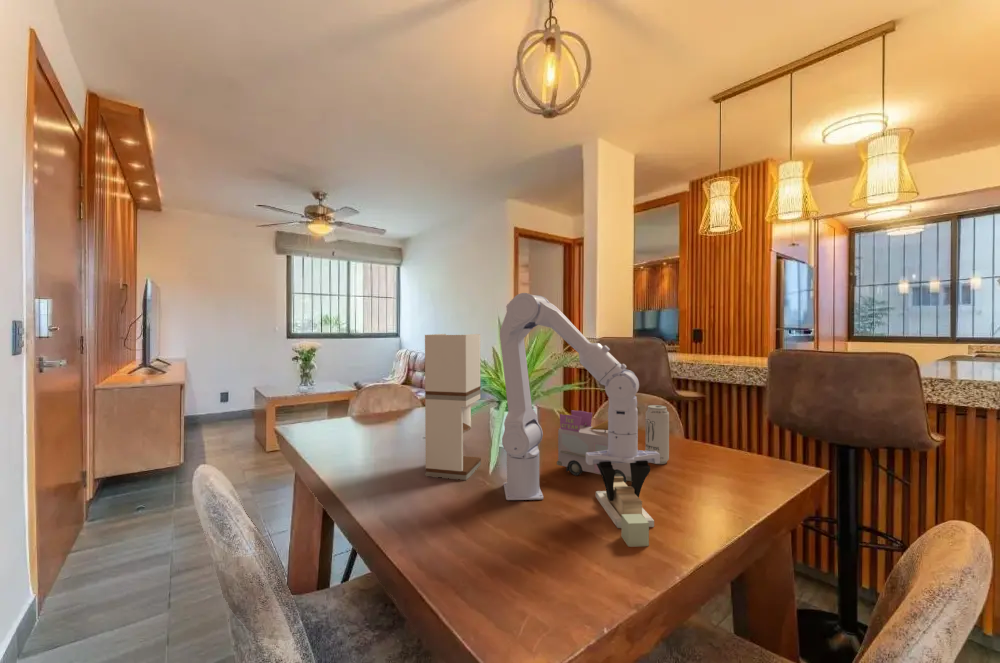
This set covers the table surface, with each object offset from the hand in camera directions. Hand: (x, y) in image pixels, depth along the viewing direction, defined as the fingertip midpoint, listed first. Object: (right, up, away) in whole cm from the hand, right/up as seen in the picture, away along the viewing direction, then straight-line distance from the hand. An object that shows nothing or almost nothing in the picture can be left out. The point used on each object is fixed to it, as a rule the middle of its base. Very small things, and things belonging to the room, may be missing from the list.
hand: (622, 498), depth 86 cm
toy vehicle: (0, -2, +20) cm, 20 cm away
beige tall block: (-36, -2, +24) cm, 44 cm away
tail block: (-1, -3, -12) cm, 12 cm away
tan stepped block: (0, -3, 0) cm, 3 cm away
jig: (0, -2, 0) cm, 2 cm away
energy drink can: (+18, -2, +31) cm, 36 cm away
